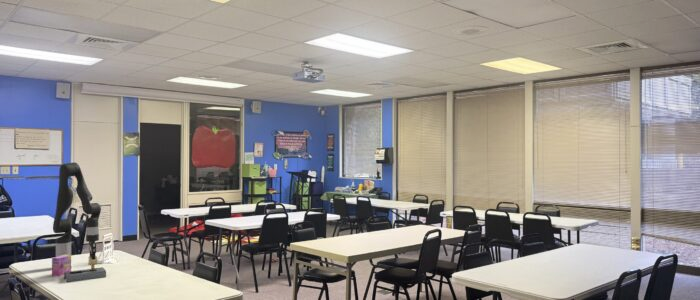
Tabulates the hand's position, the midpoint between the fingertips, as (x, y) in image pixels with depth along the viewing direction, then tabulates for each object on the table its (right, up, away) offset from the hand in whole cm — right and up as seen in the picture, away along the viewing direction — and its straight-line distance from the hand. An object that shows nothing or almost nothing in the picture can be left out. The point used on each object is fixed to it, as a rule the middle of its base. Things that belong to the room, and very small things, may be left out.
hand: (92, 258), depth 320 cm
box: (-18, -10, -3) cm, 21 cm away
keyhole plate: (+2, -9, -13) cm, 16 cm away
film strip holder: (-6, -10, +35) cm, 37 cm away
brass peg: (0, -10, 0) cm, 10 cm away
